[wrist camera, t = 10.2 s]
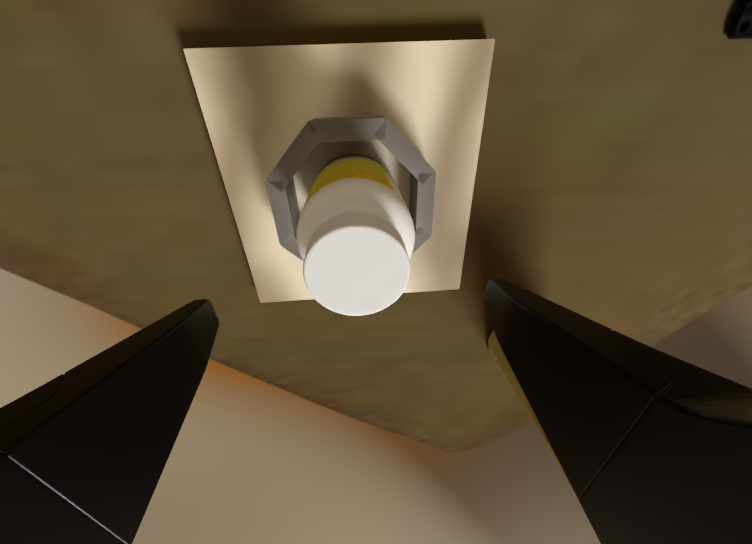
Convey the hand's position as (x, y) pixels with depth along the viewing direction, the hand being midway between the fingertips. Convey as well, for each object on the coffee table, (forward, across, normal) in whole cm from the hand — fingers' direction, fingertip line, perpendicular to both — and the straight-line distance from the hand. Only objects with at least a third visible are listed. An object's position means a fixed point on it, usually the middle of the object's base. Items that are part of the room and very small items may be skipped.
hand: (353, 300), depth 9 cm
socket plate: (+12, 0, 0) cm, 12 cm away
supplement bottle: (+11, 0, 0) cm, 11 cm away
